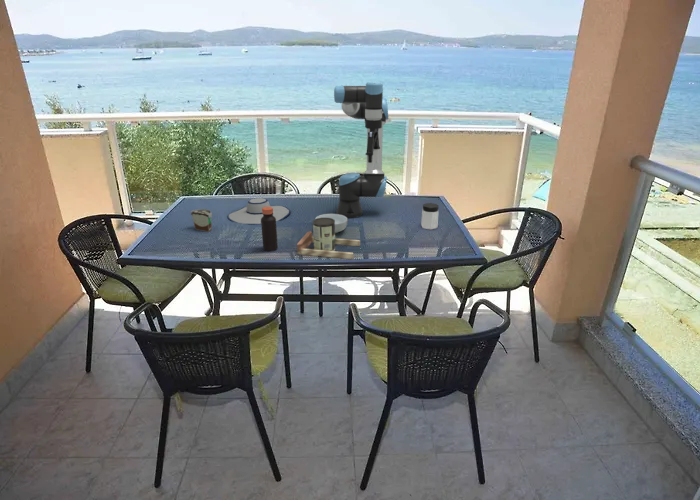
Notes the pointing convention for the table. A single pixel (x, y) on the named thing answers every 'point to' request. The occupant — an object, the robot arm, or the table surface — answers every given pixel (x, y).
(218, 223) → the table surface
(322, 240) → the coffee can
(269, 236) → the bottle
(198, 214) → the food container
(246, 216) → the sun hat
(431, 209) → the jar
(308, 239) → the guide
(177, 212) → the table surface
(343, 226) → the cereal bowl
